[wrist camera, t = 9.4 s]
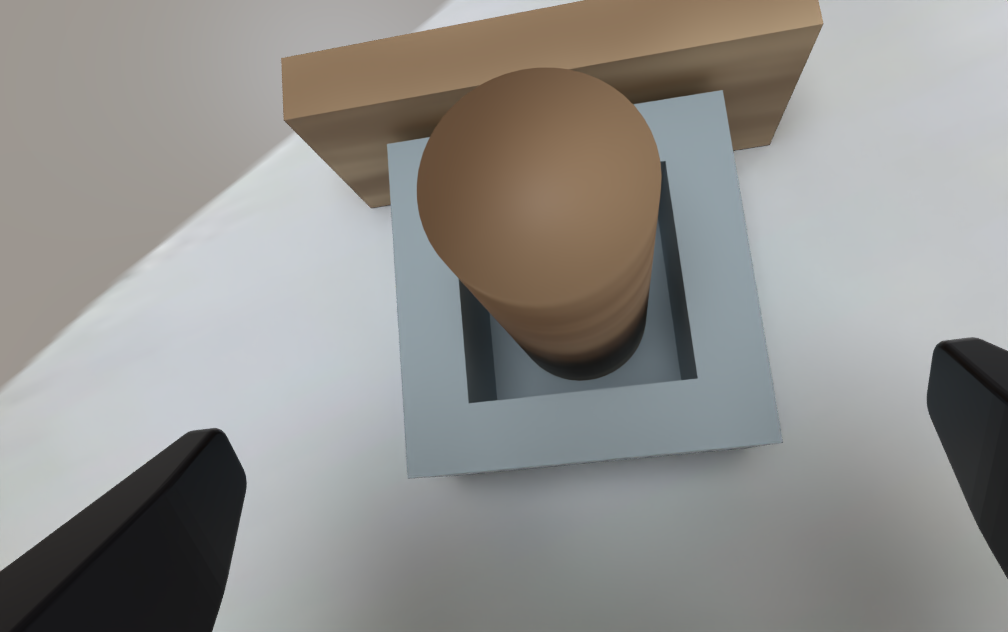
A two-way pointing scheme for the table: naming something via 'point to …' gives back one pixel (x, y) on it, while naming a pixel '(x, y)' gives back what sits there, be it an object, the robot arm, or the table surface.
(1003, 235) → the table surface
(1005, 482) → the robot arm
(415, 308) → the socket block
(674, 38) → the backstop board
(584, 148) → the dowel
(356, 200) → the table surface
